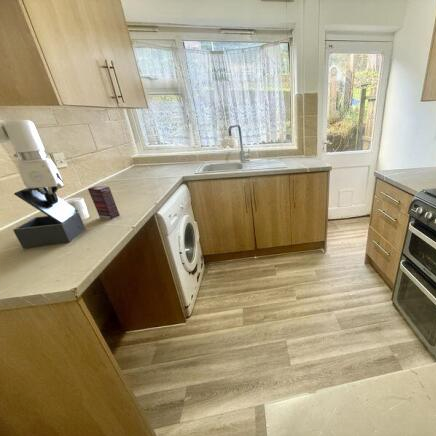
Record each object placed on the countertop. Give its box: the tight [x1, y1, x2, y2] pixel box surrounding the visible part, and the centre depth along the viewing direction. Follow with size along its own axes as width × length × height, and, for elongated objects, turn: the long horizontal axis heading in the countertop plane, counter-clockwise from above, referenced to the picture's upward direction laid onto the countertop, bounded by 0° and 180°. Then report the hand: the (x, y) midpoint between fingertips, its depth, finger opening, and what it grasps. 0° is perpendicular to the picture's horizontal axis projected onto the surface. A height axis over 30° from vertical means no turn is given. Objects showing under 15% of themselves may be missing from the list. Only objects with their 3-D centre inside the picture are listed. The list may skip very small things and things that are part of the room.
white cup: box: [63, 196, 90, 221], centre depth 120 cm, size 8×8×10 cm
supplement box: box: [87, 185, 121, 220], centre depth 119 cm, size 9×5×16 cm, turn 71°
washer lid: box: [13, 187, 79, 224], centre depth 96 cm, size 16×13×1 cm
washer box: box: [12, 213, 86, 250], centre depth 100 cm, size 16×13×9 cm
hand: (53, 203), depth 96 cm, fingers closed
